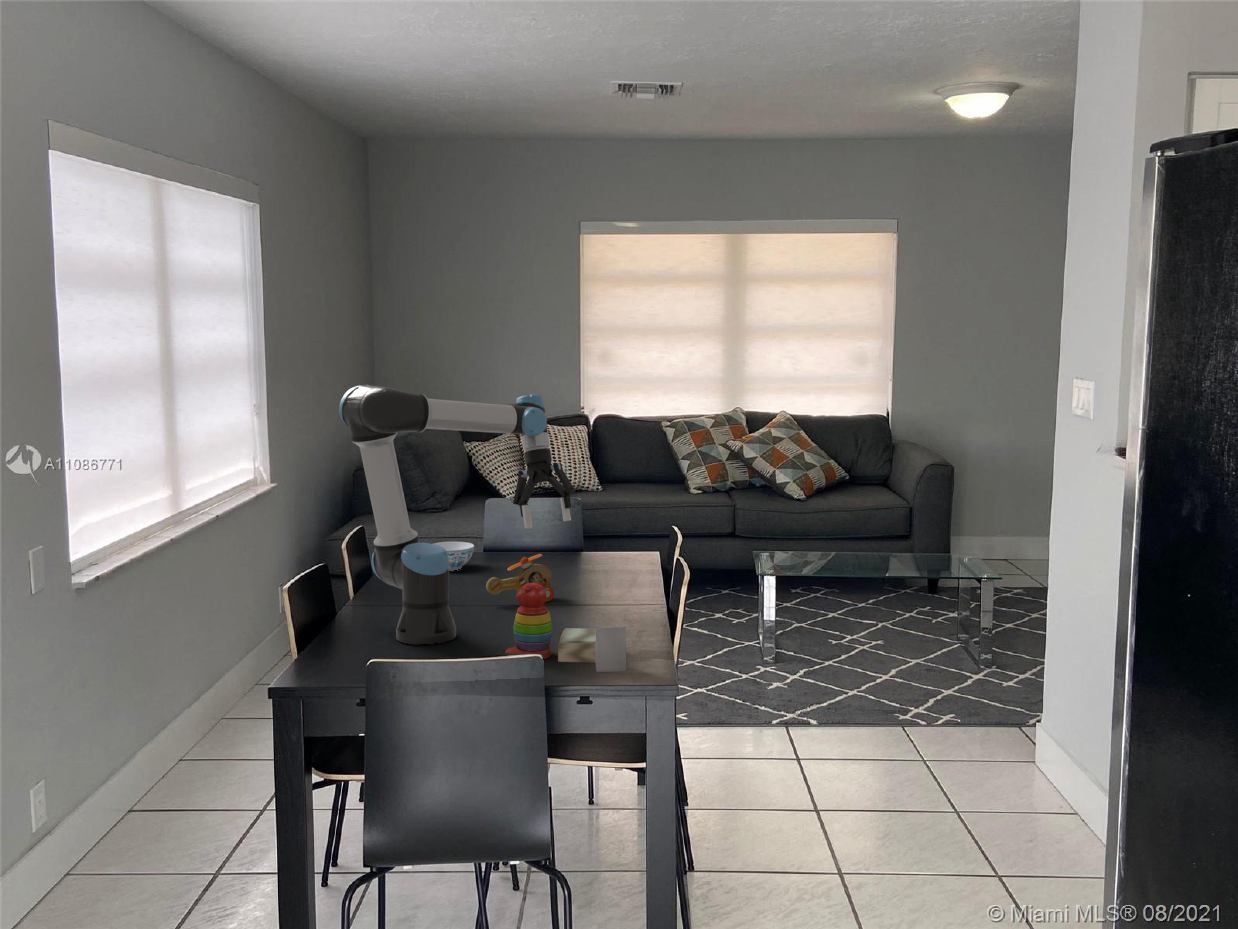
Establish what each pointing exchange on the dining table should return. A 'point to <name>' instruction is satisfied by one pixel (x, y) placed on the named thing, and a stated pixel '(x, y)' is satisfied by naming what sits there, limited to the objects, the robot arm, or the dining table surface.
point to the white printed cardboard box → (610, 649)
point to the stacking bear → (532, 622)
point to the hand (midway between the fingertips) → (547, 524)
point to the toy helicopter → (524, 578)
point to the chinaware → (457, 553)
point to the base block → (577, 645)
